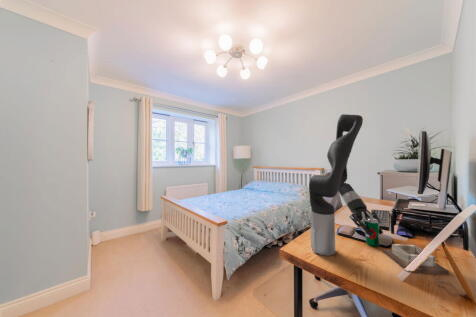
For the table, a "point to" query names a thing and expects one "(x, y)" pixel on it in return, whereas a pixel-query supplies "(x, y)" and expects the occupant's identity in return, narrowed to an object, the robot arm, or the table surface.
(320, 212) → the robot arm
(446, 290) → the table surface
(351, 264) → the table surface
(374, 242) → the soda can
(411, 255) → the holder
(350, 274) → the table surface
